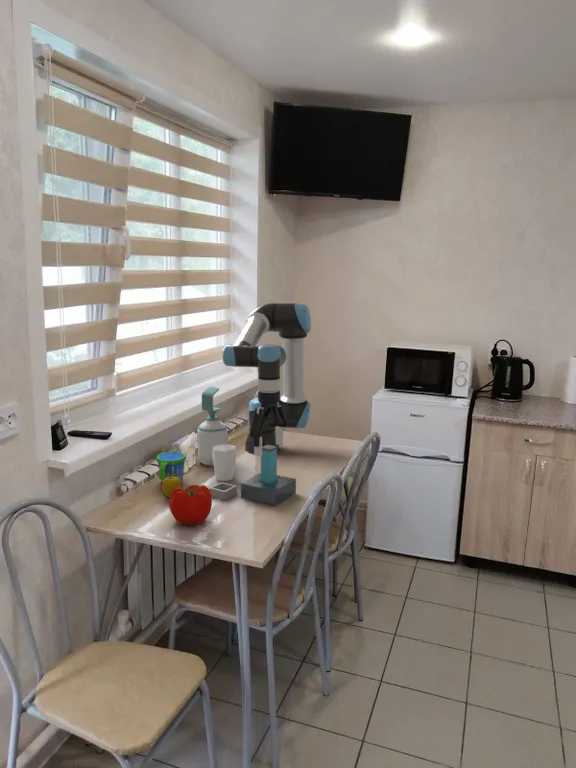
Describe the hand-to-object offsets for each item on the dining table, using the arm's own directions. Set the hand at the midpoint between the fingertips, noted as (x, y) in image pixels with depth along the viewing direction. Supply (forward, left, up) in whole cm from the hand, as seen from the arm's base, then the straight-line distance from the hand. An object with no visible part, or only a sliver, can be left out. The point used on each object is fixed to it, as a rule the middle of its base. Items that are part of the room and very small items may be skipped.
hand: (269, 449), depth 211 cm
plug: (0, 0, -16) cm, 16 cm away
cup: (-6, -24, -17) cm, 30 cm away
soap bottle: (-18, -39, -17) cm, 46 cm away
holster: (+8, -14, -17) cm, 23 cm away
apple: (+19, -28, -17) cm, 38 cm away
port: (0, 0, -17) cm, 17 cm away
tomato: (+31, -9, -17) cm, 37 cm away
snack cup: (+8, -38, -17) cm, 42 cm away
